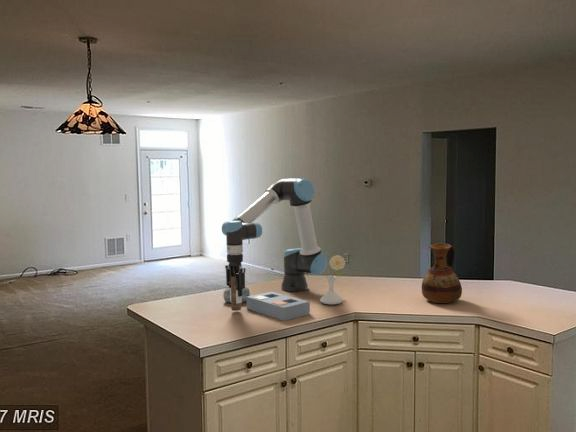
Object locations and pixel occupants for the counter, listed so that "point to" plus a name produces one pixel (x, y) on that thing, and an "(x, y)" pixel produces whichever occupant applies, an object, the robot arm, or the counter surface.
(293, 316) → the socket block
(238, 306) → the peg
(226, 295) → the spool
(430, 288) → the ceramic pitcher
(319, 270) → the robot arm
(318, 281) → the counter surface
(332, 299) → the flower in vase
